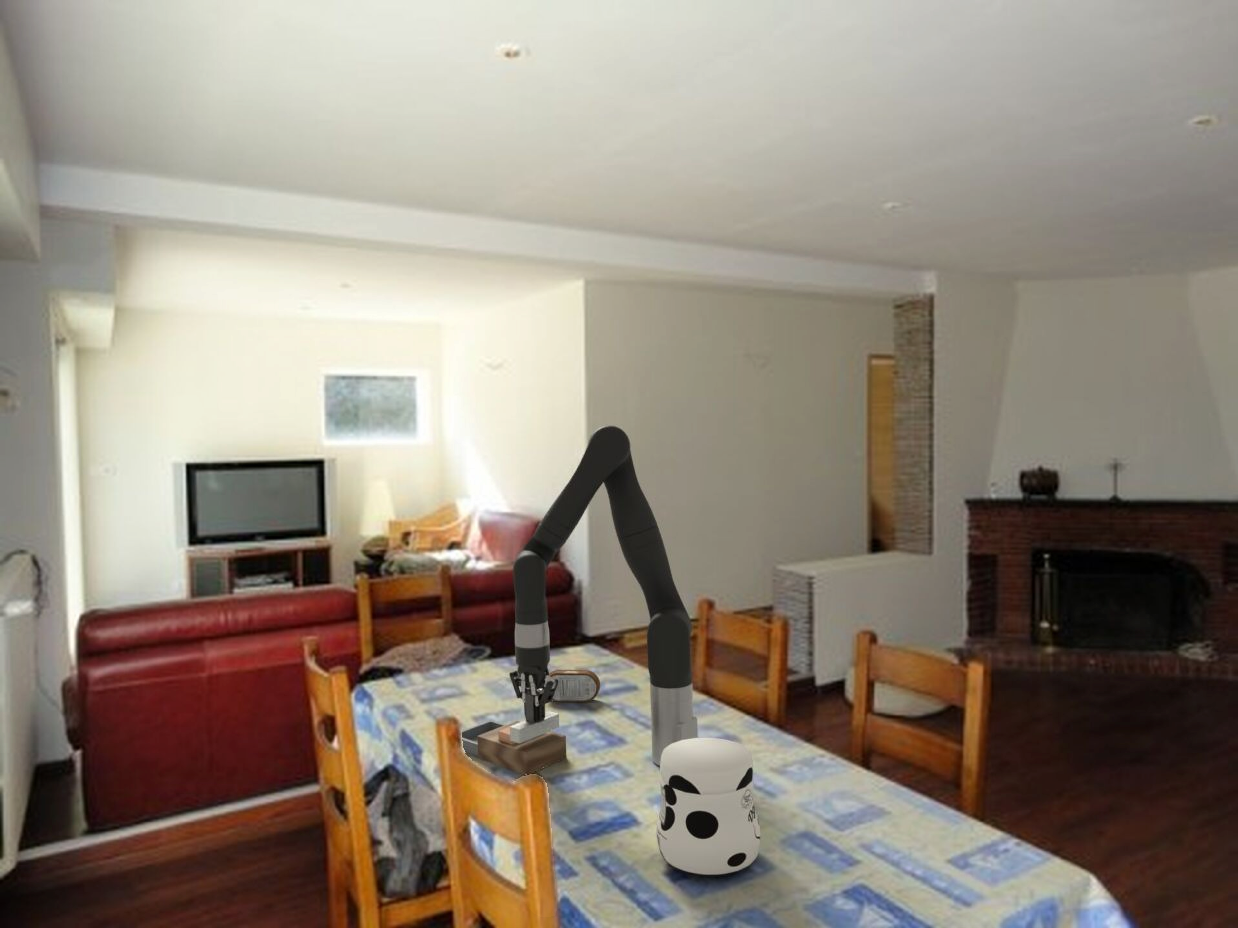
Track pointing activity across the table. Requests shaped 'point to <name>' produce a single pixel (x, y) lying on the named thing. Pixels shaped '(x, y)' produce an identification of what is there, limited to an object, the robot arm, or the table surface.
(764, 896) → the table surface
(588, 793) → the table surface
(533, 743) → the walnut block
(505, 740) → the peach flat block
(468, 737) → the tray
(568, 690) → the tin
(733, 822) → the milk container
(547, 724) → the scraper
